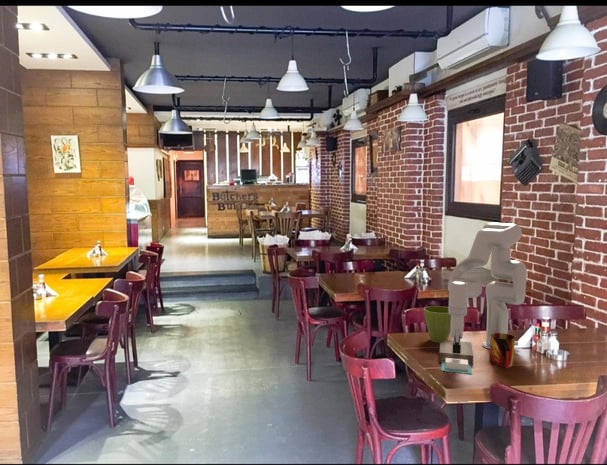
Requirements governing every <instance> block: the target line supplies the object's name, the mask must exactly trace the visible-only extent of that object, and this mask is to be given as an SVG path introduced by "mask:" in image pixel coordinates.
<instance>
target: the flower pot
mask: <svg viewBox="0 0 607 465" xmlns="http://www.w3.org/2000/svg"><path fill="white" fill-rule="evenodd" d="M423 311H424V312H423V313H424V314H423V315H424V319H425V325H426V329H427V333H428V336H429V338H430V341H431V342H433V343H437V344H438V343H439V344H440V340H448V338H449V337H450V322H451V315H450V314H449V306H440V305H439V306H438V305H430V306H425V307H424V308H423Z"/></svg>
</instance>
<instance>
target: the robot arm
mask: <svg viewBox="0 0 607 465" xmlns="http://www.w3.org/2000/svg"><path fill="white" fill-rule="evenodd" d="M522 234H523V231H522V228H521V226H520V225H519V224H517V223H504V222H488V223H485V224H484V225H483V227H482V229H479V230H478V231H477V233H476V235H475V238H474V241H473V243H472V245H471V247H470V251H469V254H468V256H467V257H466V258H464V259H463V260H461V261H460V262H459V263H458V264H456V266H455V267H454V268H453V269H452V271H451V273H450V277H449V280H448V283H447V289H448V292H449V293H448V307H449V314H450V315H451V322H450V333H449V338H450V339H452V338H453V340H452V341H453V353H456V354H460V353H461V344H460V342H461V340H462V339H463V334H464V322H465V316H467V315H468V299H469V298H470V299H472V298H474V299H475V298H477V297H479V296H481V294H482V292H483V286H482V284H481V283H480V282H479V281H477V280H474V279H467V278H463V276H464V275H465V274H466V273H467V272H469V271H472V270H475V269H478V268H482V267H484V266H486V265H487V264H488V263H489V260H490V275H491V277H492V278H495V279H498V280H506V281H512V283H511V282H506V281H505V282H503V281H498V280H497V281H495V280H494V281H490V282H489V283H488V284H487V285H486V286H485V295H486V296H485V297H486V305H487V306H486V308H487V309H486V310H487V311H486V338H485V341H483V342H482V347H484V348H485V349H487V350H490V341H491V334H493V333H504V334H509V333H508V332H509V308H508V307H507V305H506V304H509V305H515V306H516V305H517V306H521V305H522V304H523V303H524V302H525V298H526V289H527V288H526V287H527V275H528V274H527V273H528V272H527V267H526V266H527V265H526V264H525V263H524V262H523V261H520V260H515V259H514V260H513V259H511V251H512V250H511V246H513V245H514V244H517V243H518V242H519V241H520V239H521V237H522ZM514 346H519V341H516V340H514Z"/></svg>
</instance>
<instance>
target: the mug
mask: <svg viewBox="0 0 607 465" xmlns="http://www.w3.org/2000/svg"><path fill="white" fill-rule="evenodd" d="M514 341H516V340H515V336H514V335H512V334H509V333H508V334H504V333H493V334H491V341H490V349H489V363H490V364H491V365H493V366H496V367H502V368H506V369H509V368H510V367H511V368H512V367H514V362H515V361H514V359H515V358H514V357H515V345H514Z"/></svg>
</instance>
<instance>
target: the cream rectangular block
mask: <svg viewBox="0 0 607 465" xmlns="http://www.w3.org/2000/svg"><path fill="white" fill-rule="evenodd" d="M445 368H449V369H459V370H468V360H463V359H453V358H446V364H445Z"/></svg>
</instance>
